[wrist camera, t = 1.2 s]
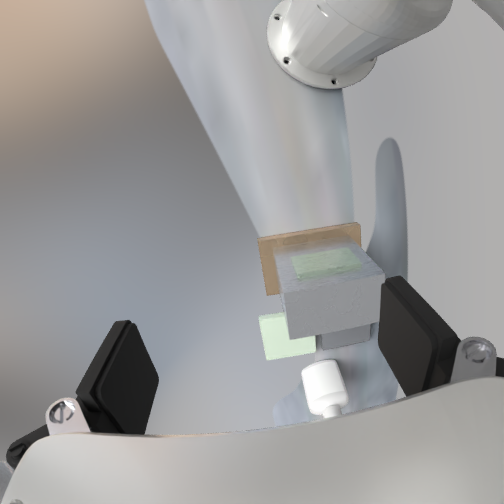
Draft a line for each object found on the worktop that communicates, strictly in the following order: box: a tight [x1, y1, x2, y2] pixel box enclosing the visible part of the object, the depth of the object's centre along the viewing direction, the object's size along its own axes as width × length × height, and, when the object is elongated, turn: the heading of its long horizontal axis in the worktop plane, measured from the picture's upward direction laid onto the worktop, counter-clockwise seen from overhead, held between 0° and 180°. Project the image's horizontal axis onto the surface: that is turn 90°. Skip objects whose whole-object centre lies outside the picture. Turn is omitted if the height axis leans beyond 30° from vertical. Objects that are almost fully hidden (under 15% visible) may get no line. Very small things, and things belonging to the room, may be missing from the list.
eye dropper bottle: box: [301, 359, 349, 418], centre depth 38 cm, size 4×6×12 cm
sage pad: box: [259, 312, 316, 360], centre depth 40 cm, size 7×7×1 cm
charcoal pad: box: [321, 324, 371, 350], centre depth 40 cm, size 7×7×1 cm
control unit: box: [257, 222, 385, 340], centre depth 31 cm, size 7×12×12 cm, turn 99°
